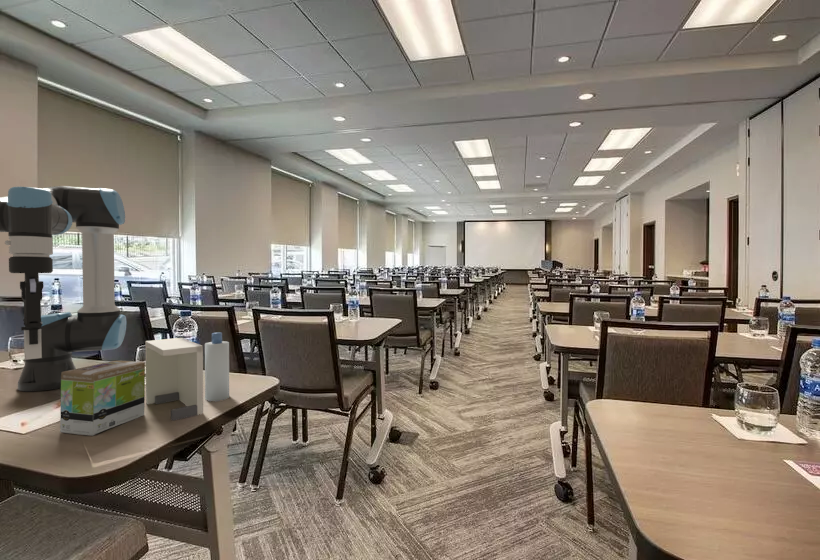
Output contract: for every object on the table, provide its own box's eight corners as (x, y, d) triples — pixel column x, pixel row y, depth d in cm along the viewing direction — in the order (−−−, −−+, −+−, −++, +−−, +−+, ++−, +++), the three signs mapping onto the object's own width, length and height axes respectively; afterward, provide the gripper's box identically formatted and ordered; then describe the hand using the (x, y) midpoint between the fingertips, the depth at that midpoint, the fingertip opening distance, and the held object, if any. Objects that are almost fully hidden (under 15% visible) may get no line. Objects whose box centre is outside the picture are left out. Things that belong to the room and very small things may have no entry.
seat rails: (154, 404, 123) (154, 395, 123) (177, 400, 127) (177, 391, 127) (172, 420, 110) (172, 410, 110) (197, 415, 114) (197, 405, 114)
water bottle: (202, 399, 128) (201, 333, 128) (224, 394, 133) (224, 330, 133) (209, 404, 124) (209, 335, 123) (232, 399, 128) (232, 333, 128)
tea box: (94, 437, 99) (93, 373, 99) (59, 433, 101) (58, 371, 101) (146, 415, 114) (145, 360, 114) (114, 413, 116) (114, 358, 116)
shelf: (146, 405, 122) (145, 341, 122) (182, 398, 129) (181, 337, 129) (163, 422, 109) (163, 350, 108) (203, 413, 115) (202, 345, 115)
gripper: (8, 256, 102) (10, 352, 103) (8, 254, 88) (10, 365, 88) (49, 257, 107) (50, 348, 108) (56, 255, 93) (57, 360, 93)
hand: (32, 355), depth 98 cm, fingers open, 7 cm apart
